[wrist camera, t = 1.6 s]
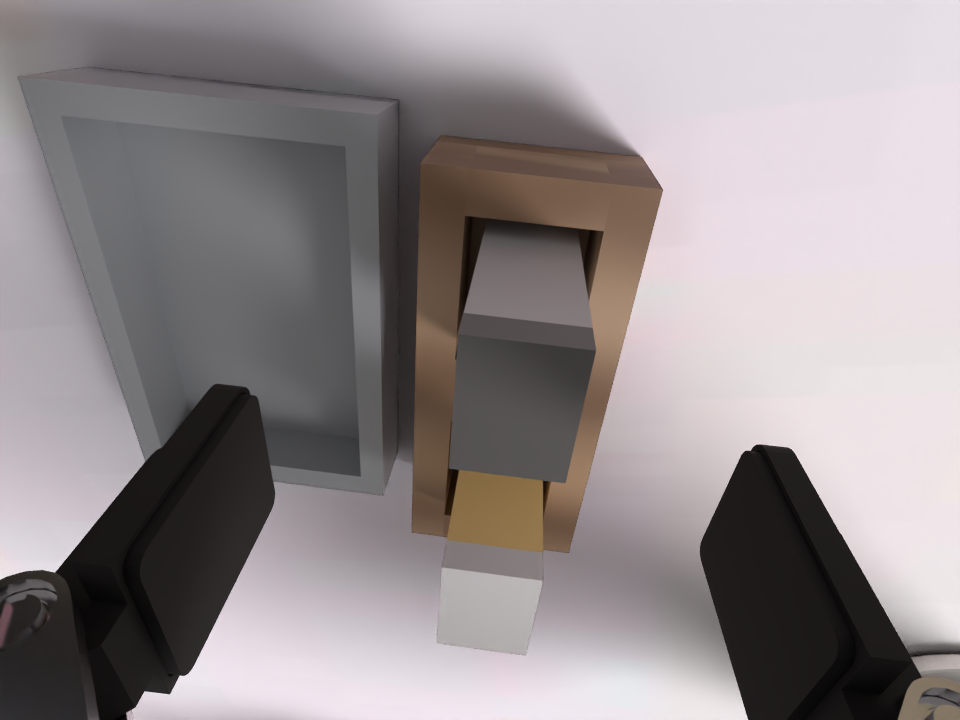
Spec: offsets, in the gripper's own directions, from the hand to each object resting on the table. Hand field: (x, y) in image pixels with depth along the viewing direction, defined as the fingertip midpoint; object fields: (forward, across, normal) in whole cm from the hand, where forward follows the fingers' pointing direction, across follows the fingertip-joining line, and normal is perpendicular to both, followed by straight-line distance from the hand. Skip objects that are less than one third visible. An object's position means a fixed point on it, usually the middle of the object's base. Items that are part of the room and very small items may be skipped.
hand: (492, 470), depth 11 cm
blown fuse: (+11, -1, +1) cm, 11 cm away
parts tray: (+12, +10, +4) cm, 16 cm away
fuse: (+11, -1, +9) cm, 14 cm away
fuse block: (+12, -1, +5) cm, 13 cm away
